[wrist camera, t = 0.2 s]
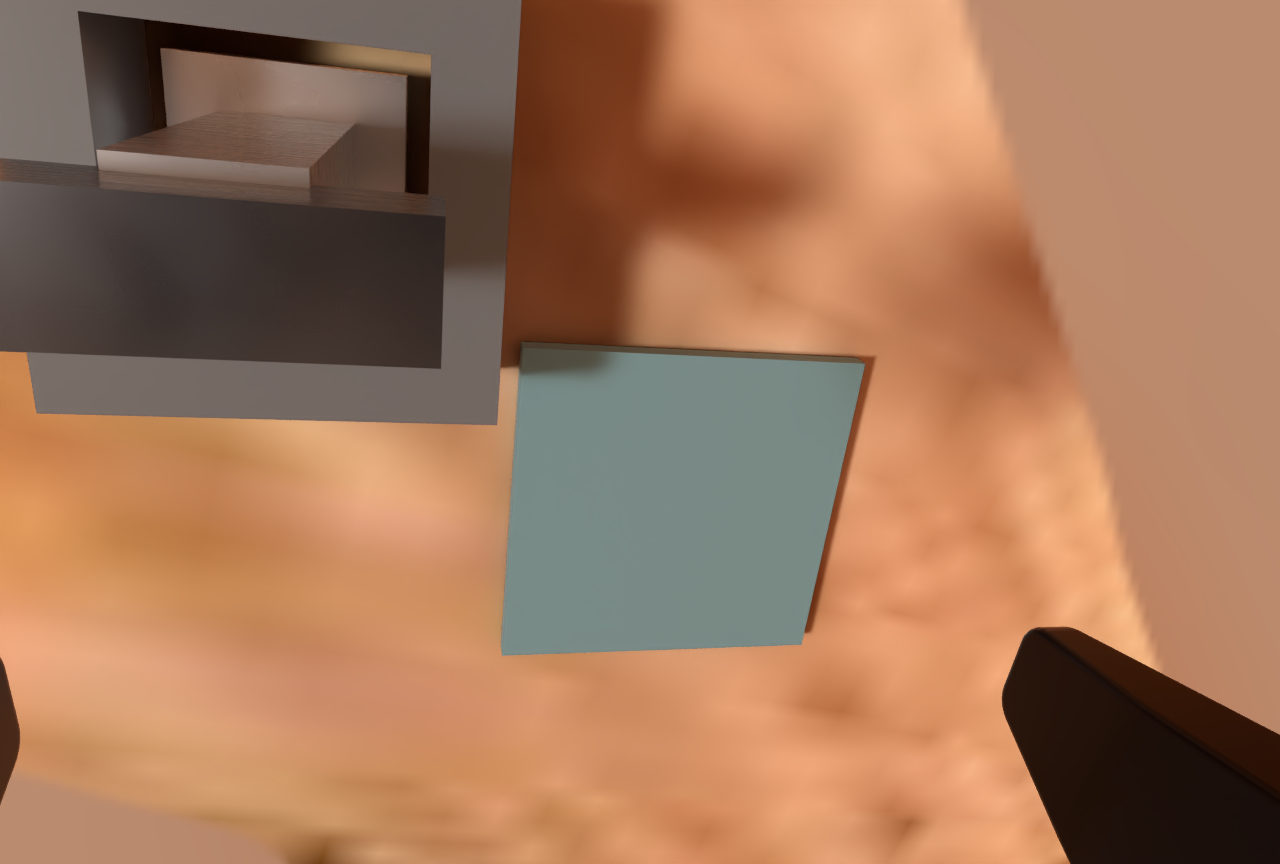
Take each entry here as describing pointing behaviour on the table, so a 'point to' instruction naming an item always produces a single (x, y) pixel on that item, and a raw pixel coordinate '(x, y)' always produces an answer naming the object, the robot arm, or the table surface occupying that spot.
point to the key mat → (670, 496)
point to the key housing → (458, 169)
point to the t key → (233, 227)
